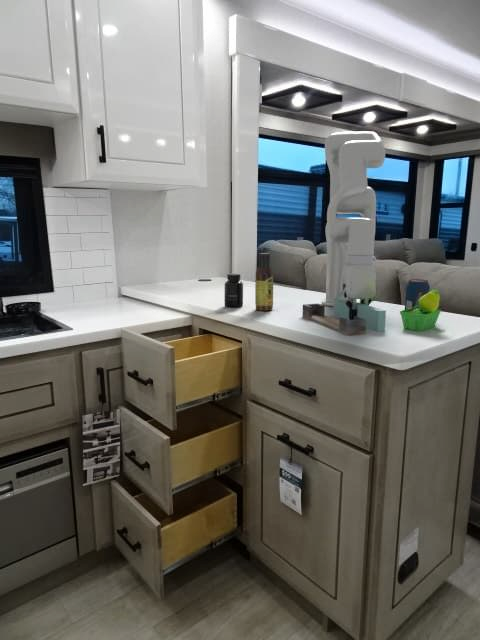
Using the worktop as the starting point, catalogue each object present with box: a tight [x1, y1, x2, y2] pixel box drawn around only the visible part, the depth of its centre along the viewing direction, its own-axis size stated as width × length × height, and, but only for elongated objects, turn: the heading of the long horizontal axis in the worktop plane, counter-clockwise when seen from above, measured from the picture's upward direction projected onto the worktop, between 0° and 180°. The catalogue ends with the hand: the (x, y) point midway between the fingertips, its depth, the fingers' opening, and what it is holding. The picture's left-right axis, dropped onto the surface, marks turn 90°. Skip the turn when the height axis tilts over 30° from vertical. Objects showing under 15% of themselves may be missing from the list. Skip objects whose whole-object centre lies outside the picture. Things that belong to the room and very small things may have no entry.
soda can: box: [404, 278, 431, 310], centre depth 142 cm, size 7×7×12 cm
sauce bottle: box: [254, 252, 274, 312], centre depth 156 cm, size 6×6×20 cm
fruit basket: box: [399, 289, 442, 332], centre depth 128 cm, size 11×9×11 cm
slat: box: [333, 298, 387, 332], centre depth 137 cm, size 24×2×6 cm, turn 19°
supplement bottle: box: [224, 273, 244, 309], centre depth 164 cm, size 7×7×12 cm
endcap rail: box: [302, 303, 367, 336], centre depth 134 cm, size 6×27×4 cm, turn 19°
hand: (357, 320), depth 137 cm, fingers closed on slat, 2 cm apart
